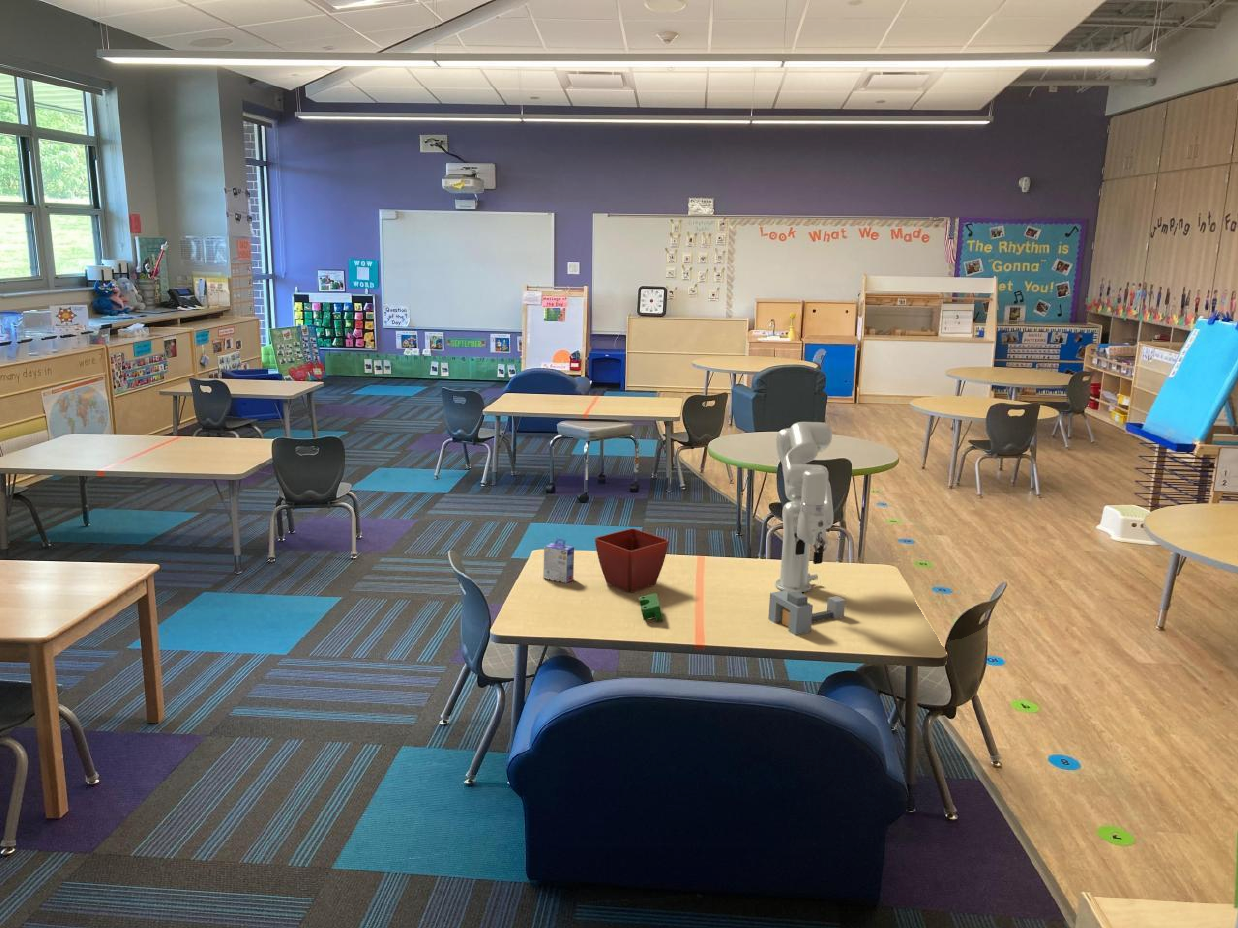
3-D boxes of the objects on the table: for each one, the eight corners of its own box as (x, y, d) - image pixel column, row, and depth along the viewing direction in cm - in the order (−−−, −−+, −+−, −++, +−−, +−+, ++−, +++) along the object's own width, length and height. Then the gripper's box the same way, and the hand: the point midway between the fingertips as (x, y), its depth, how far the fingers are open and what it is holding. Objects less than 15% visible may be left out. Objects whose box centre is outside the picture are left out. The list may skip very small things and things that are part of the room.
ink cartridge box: (574, 578, 333) (575, 540, 330) (567, 583, 329) (567, 544, 325) (550, 574, 338) (550, 536, 334) (542, 578, 333) (543, 540, 329)
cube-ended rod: (834, 612, 310) (836, 595, 308) (844, 617, 306) (846, 600, 304) (781, 623, 300) (783, 605, 298) (791, 628, 295) (792, 611, 294)
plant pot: (592, 582, 331) (593, 537, 327) (631, 571, 343) (633, 527, 339) (628, 598, 317) (630, 551, 313) (668, 585, 329) (670, 540, 326)
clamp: (644, 624, 307) (638, 597, 308) (662, 620, 307) (656, 593, 308) (644, 624, 295) (638, 596, 296) (662, 620, 295) (656, 592, 296)
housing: (783, 616, 305) (785, 583, 303) (810, 631, 293) (813, 597, 291) (768, 618, 303) (770, 585, 300) (795, 635, 291) (798, 600, 288)
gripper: (838, 514, 293) (834, 565, 297) (806, 500, 308) (802, 549, 312) (819, 516, 290) (815, 568, 294) (787, 502, 305) (783, 552, 309)
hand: (808, 558), depth 303 cm, fingers open, 9 cm apart
